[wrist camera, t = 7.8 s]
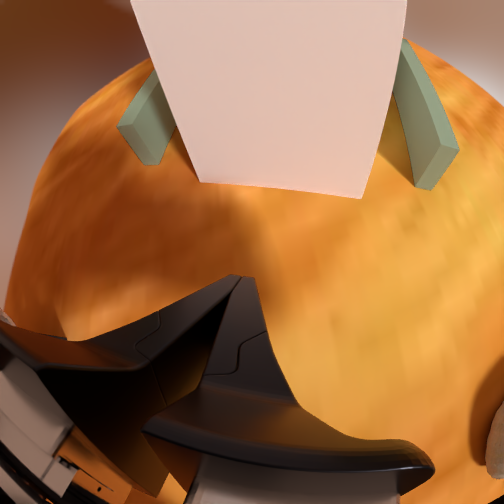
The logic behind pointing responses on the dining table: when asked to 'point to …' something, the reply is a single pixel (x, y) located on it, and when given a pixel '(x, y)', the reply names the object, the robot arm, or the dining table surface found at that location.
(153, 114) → the corral
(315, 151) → the milk
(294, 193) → the dining table surface
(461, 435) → the dining table surface
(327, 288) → the dining table surface
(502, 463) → the sea urchin shell
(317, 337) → the dining table surface
